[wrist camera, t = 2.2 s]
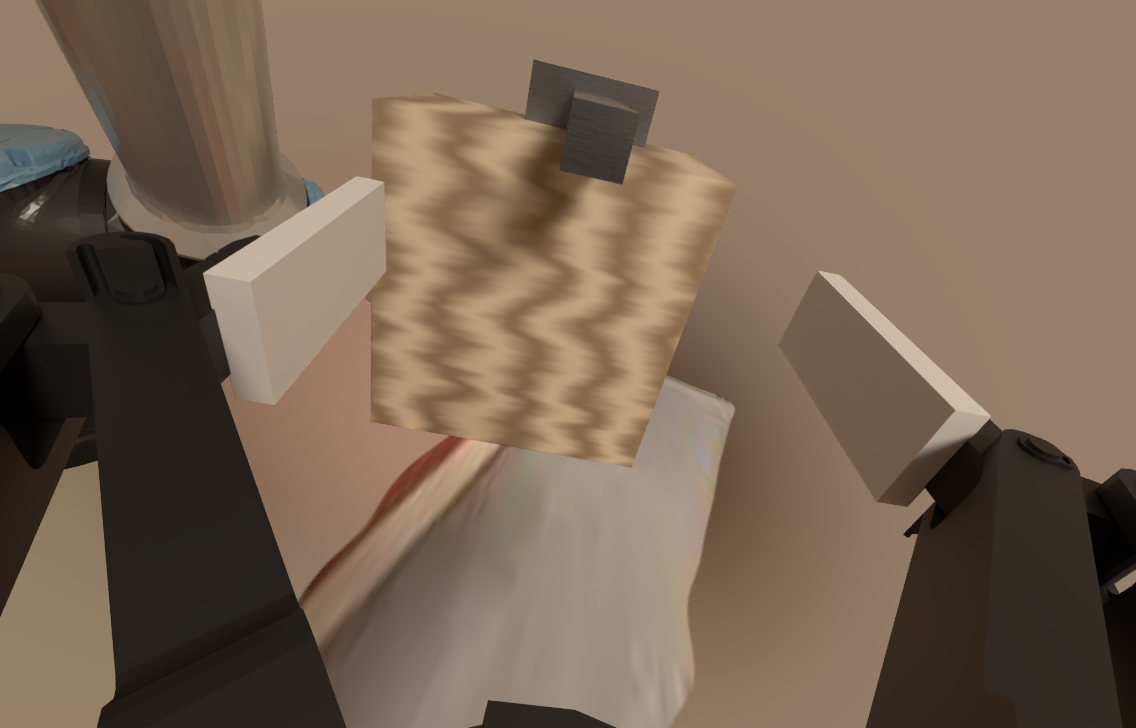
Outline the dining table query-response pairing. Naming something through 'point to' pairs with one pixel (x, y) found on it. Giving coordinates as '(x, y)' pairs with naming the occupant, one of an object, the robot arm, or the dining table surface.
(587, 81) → the t handle
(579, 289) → the zigzag patterned box
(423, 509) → the dining table surface
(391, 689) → the dining table surface
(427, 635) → the dining table surface
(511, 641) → the dining table surface
